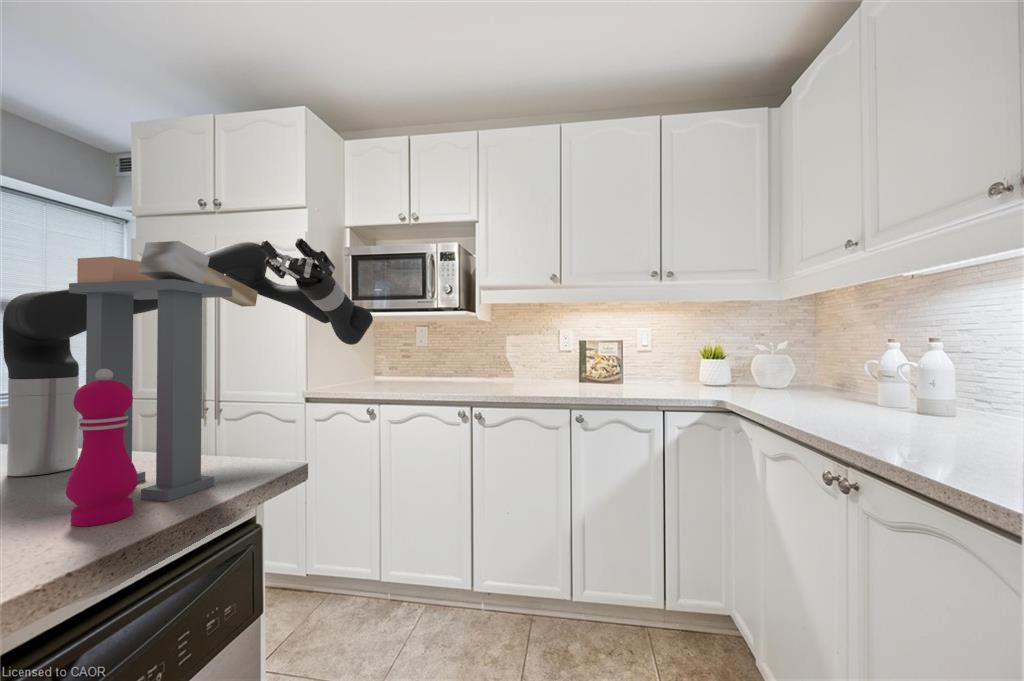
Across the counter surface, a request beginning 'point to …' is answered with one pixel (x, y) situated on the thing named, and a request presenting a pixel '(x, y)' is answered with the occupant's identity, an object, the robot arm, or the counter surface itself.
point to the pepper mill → (102, 454)
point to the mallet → (190, 269)
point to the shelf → (174, 369)
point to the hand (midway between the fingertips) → (280, 242)
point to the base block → (108, 270)
